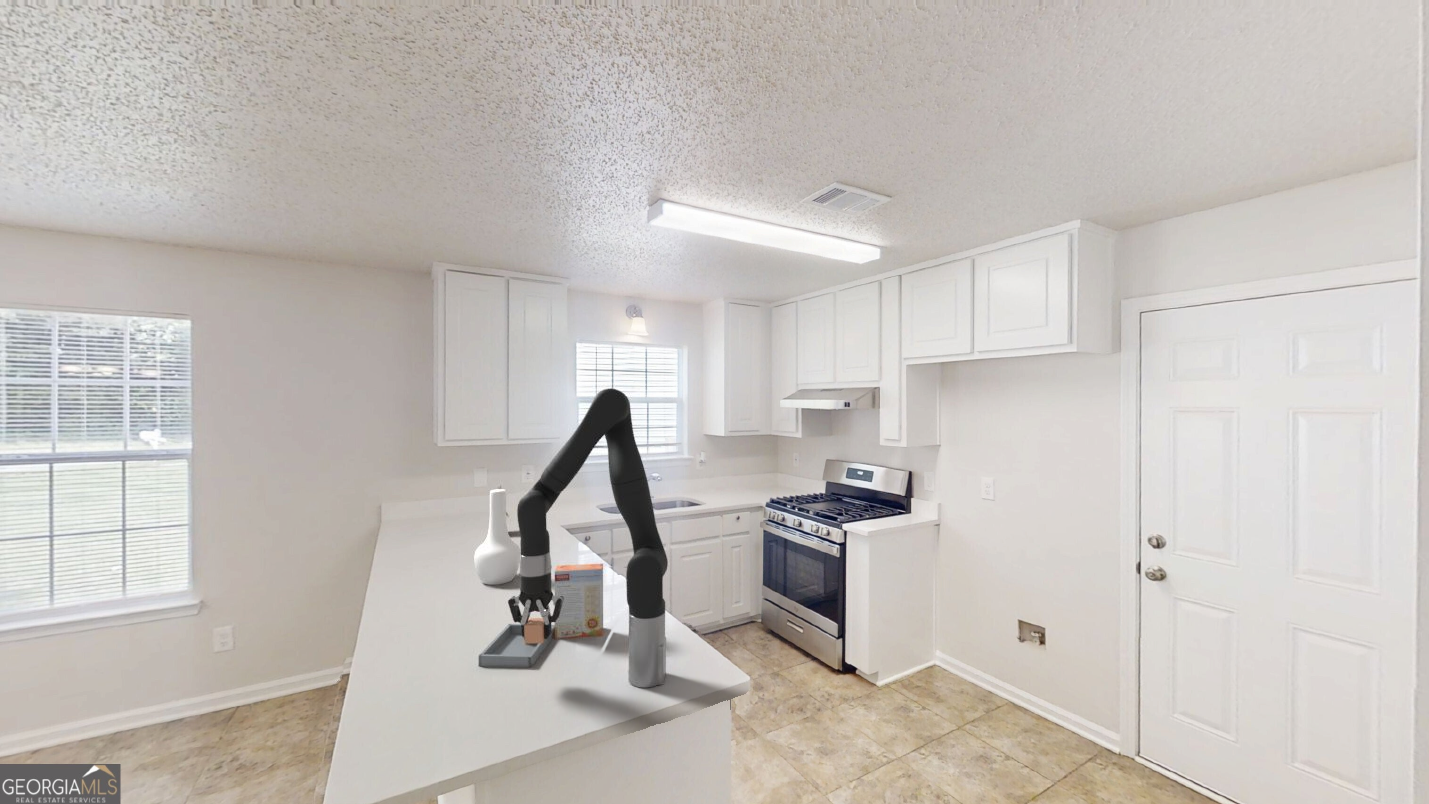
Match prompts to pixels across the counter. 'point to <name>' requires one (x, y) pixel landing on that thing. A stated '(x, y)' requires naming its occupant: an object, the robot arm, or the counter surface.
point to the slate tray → (512, 649)
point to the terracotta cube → (534, 631)
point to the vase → (497, 546)
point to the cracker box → (579, 600)
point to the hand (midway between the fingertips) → (536, 637)
